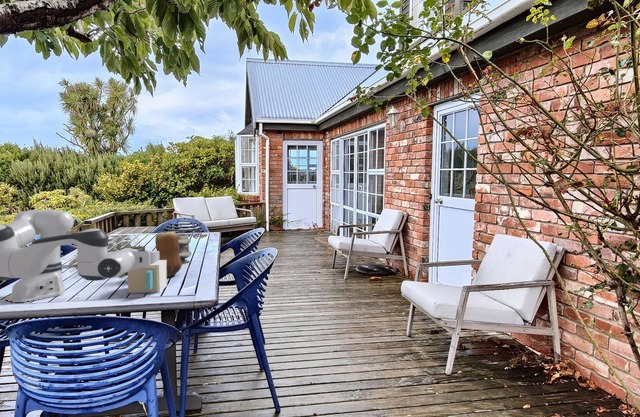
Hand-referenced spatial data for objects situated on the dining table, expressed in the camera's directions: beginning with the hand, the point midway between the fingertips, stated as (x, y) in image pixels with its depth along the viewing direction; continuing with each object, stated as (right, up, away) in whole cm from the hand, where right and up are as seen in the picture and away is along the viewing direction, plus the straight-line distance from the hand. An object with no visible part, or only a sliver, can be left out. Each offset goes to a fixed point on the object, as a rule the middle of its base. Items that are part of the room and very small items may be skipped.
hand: (139, 253), depth 165 cm
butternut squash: (-6, -19, +49) cm, 52 cm away
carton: (-6, -20, +23) cm, 31 cm away
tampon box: (-31, -18, +59) cm, 69 cm away
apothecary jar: (-13, -16, +86) cm, 88 cm away
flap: (-5, -19, +14) cm, 24 cm away
